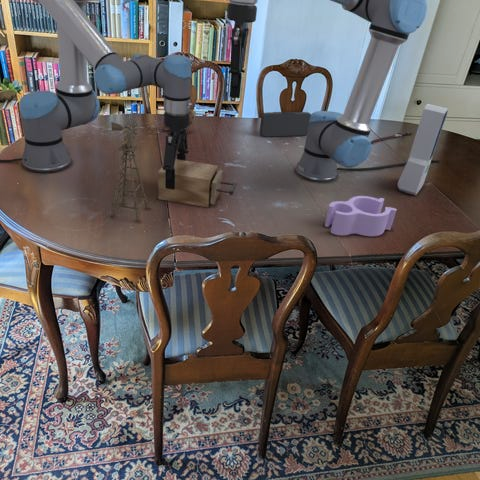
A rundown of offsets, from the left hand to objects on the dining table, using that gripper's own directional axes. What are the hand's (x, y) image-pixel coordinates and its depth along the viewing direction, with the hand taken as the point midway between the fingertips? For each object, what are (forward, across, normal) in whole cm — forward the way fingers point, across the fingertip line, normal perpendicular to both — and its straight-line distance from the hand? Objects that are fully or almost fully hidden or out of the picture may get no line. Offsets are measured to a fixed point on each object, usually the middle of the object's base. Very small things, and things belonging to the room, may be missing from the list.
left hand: (175, 180), depth 148 cm
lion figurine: (+5, +54, +15) cm, 57 cm away
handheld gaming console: (+5, +69, -29) cm, 75 cm away
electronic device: (+5, +33, -79) cm, 85 cm away
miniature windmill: (+5, -16, +9) cm, 19 cm away
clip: (+5, -2, -58) cm, 58 cm away
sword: (+5, +85, -77) cm, 115 cm away
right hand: (-29, 0, -17) cm, 33 cm away
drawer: (+4, 0, -9) cm, 10 cm away
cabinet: (+5, 0, -4) cm, 6 cm away
